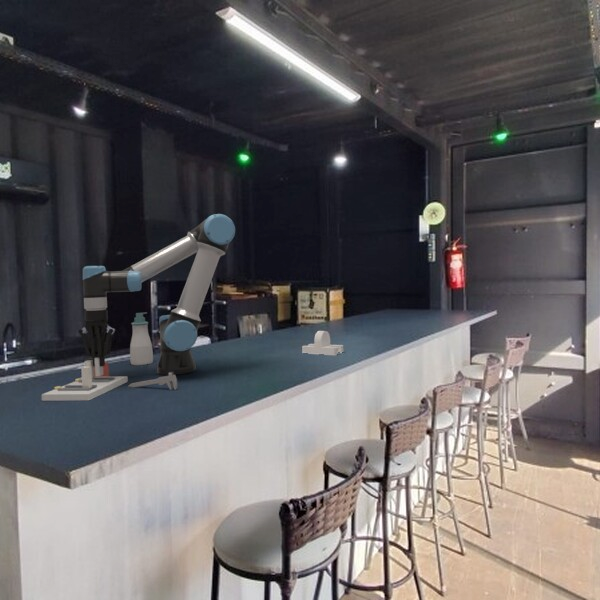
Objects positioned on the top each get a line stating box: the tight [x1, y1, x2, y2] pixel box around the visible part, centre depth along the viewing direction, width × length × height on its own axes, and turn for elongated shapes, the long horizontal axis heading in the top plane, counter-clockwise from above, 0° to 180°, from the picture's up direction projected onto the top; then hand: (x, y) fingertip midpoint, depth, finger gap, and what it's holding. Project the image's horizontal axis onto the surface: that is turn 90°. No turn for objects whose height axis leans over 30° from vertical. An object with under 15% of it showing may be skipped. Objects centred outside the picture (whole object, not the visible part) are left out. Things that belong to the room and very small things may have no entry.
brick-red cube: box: [94, 361, 110, 377], centre depth 182 cm, size 6×6×6 cm
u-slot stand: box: [301, 330, 344, 356], centre depth 225 cm, size 10×18×11 cm, turn 60°
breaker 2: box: [81, 366, 92, 388], centre depth 156 cm, size 2×2×7 cm
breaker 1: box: [84, 359, 95, 380], centre depth 169 cm, size 2×2×7 cm
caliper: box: [127, 372, 178, 391], centre depth 163 cm, size 20×1×6 cm, turn 68°
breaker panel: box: [41, 376, 129, 402], centre depth 163 cm, size 16×26×3 cm, turn 174°
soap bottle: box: [129, 312, 154, 366], centre depth 211 cm, size 10×10×23 cm
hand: (99, 375), depth 168 cm, fingers closed
